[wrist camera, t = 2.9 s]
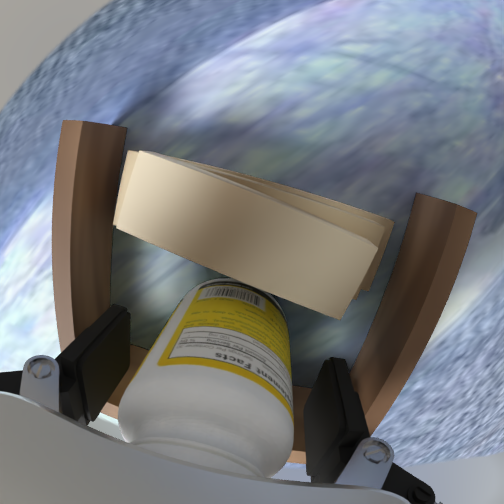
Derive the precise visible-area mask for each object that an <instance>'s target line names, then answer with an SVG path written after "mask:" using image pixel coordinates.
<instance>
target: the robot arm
mask: <svg viewBox="0 0 504 504" xmlns="http://www.w3.org/2000/svg"><path fill="white" fill-rule="evenodd" d="M129 366H130V313H129V312H127V309H126V308H125V307H122V306H119V305H116V304H113V305H112V306H111V307H109V308H108V309H107V310H106V311H105V312H104V313H103V314H102V315H101V316H100V317H99V318H98V319H97V320H96V321H95V322H94V323H93V324H92V325H91V326H90V327H87V328H86V329H85V330H84V331H83V332H82V333H81V334H80V335H79V336H78V337H77V338H76V339H75V340H74V341H73V342H71V343H70V344H69V345H68V346H67V347H66V348H65V349H64V350H63V351H62V352H61V353H60V354H59V355H58V357H57V358H56V359H55V360H54V359H53V358H51V357H49V356H45V355H37V356H34V357H31V358H30V359H28V360H27V361H26V362H25V364H24V367H23V370H22V371H12V372H1V373H0V504H437V503H436V502H435V494H434V491H433V490H432V488H431V487H430V486H428V485H427V484H426V483H424V482H423V481H421V480H419V479H418V478H416V477H414V476H413V475H412V474H410V473H408V472H407V471H405V470H404V469H402V468H401V467H399V466H398V465H396V464H395V463H393V460H394V450H393V449H392V447H391V446H390V445H389V444H388V443H387V442H386V441H384V440H382V439H379V438H375V437H370V434H369V430H368V426H367V422H366V419H365V415H364V411H363V408H362V404H361V401H360V397H359V394H358V393H357V392H356V391H354V389H353V386H352V382H351V378H350V375H349V371H348V368H347V365H346V361H345V359H341V358H335V357H331V358H330V359H329V360H325V361H324V363H323V366H322V368H321V370H320V372H319V375H318V377H317V379H316V381H315V384H314V386H313V388H312V390H311V392H310V395H309V397H308V399H307V401H306V403H305V405H304V409H303V417H304V433H305V452H306V472H307V475H308V476H311V482H300V481H289V480H280V479H272V478H265V477H258V476H251V475H245V474H240V473H234V472H229V471H224V470H220V469H215V468H210V467H206V466H202V465H198V464H194V463H190V462H186V461H183V460H179V459H176V458H172V457H169V456H165V455H162V454H159V453H156V452H153V451H150V450H147V449H144V448H141V447H138V446H135V445H133V444H130V443H127V442H124V441H122V440H119V439H117V438H114V437H112V436H109V435H107V434H104V433H102V432H100V431H98V430H95V429H93V428H91V427H89V426H87V425H88V424H89V422H90V421H95V419H96V418H97V416H98V415H99V413H100V412H101V410H102V409H103V407H104V406H105V404H106V403H107V401H108V399H109V398H110V396H111V395H112V393H113V392H114V390H115V389H116V387H117V386H118V384H119V383H120V381H121V380H122V378H123V377H124V375H125V374H126V372H127V371H128V369H129ZM438 504H443V503H441V502H439V503H438Z"/></svg>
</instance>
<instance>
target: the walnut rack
mask: <svg viewBox="0 0 504 504" xmlns="http://www.w3.org/2000/svg"><path fill="white" fill-rule="evenodd" d="M126 132H127V128H126V127H120V126H114V125H108V124H101V123H95V122H88V121H74V120H63V123H62V128H61V134H60V141H59V147H58V155H57V163H56V172H55V182H54V195H53V212H52V270H53V288H54V301H55V311H56V320H57V328H58V336H59V342H60V349H61V352H62V351H63V350H64V349H65V348H66V347H67V346H68V345H69V344H70V343H71V342H73V341H74V340H75V339H76V338H77V337H78V336H79V335H80V334H81V333H82V332H83V331H84V330H85V329H86V328H87V327H90V326H91V325H92V324H93V323H94V322H95V321H96V320H97V319H98V318H99V317H100V316H101V315H102V314H103V313H104V312H105V311H106V310H107V309H108V308H109V307H110V276H111V254H112V238H113V222H114V215H115V205H116V196H117V188H118V181H119V173H120V167H121V160H122V154H123V148H124V143H125V137H126ZM476 216H477V213H476V212H474V211H472V210H469V209H467V208H465V207H462V206H460V205H457V204H454V203H451V202H448V201H444V200H441V199H437V198H434V197H430V196H427V195H423V194H419V193H416V196H415V199H414V203H413V207H412V210H411V214H410V218H409V221H408V225H407V228H406V231H405V235H404V238H403V241H402V244H401V247H400V250H399V253H398V256H397V259H396V262H395V265H394V268H393V271H392V274H391V277H390V279H389V282H388V285H387V287H386V290H385V293H384V295H383V298H382V301H381V303H380V306H379V308H378V311H377V313H376V316H375V318H374V320H373V323H372V325H371V328H370V330H369V332H368V334H367V337H366V339H365V341H364V343H363V346H362V348H361V350H360V352H359V354H358V357H357V359H356V361H355V363H354V365H353V367H352V369H351V371H350V373H349V375H350V378H351V382H352V386H353V389H354V391H356V392H357V393H358V394H359V397H360V401H361V404H362V408H363V411H364V415H365V419H366V422H367V426H368V430H369V434H370V436H371V435H372V434H373V432H374V431H375V429H376V428H377V427H378V425H379V424H380V422H381V421H382V419H383V418H384V416H385V415H386V413H387V412H388V410H389V409H390V407H391V406H392V404H393V403H394V401H395V400H396V398H397V396H398V395H399V393H400V392H401V390H402V388H403V387H404V385H405V383H406V382H407V380H408V378H409V376H410V375H411V373H412V371H413V369H414V368H415V366H416V364H417V362H418V360H419V359H420V357H421V355H422V353H423V351H424V349H425V347H426V345H427V343H428V341H429V339H430V337H431V335H432V333H433V331H434V329H435V327H436V325H437V323H438V320H439V318H440V316H441V314H442V312H443V309H444V307H445V305H446V302H447V300H448V298H449V295H450V293H451V290H452V288H453V285H454V283H455V280H456V277H457V275H458V272H459V269H460V267H461V264H462V261H463V258H464V255H465V252H466V249H467V246H468V243H469V240H470V237H471V233H472V230H473V226H474V223H475V219H476ZM148 352H149V350H146V349H143V348H140V347H137V346H134V345H131V344H130V366H129V369H128V371H127V372H126V374H125V375H124V377H123V378H122V380H121V381H120V383H119V384H118V386H117V387H116V389H115V390H114V392H113V393H112V395H111V396H110V398H109V399H108V401H107V403H106V404H105V406H104V407H103V409H102V410H101V413H103V414H106V415H108V416H110V417H113V418H115V419H118V409H119V404H120V401H121V398H122V396H123V394H124V392H125V390H126V388H127V386H128V385H129V383H130V381H131V380H132V378H133V376H134V375H135V373H136V371H137V370H138V368H139V366H140V365H141V363H142V362H143V360H144V358H145V357H146V355H147V354H148ZM311 390H312V388H306V387H300V386H294V385H292V395H293V415H294V440H293V448H292V451H291V454H290V457H289V459H288V460H287V462H291V463H300V464H306V452H305V433H304V417H303V409H304V405H305V403H306V401H307V399H308V397H309V395H310V392H311Z"/></svg>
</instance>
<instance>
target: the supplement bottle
mask: <svg viewBox="0 0 504 504" xmlns="http://www.w3.org/2000/svg"><path fill="white" fill-rule="evenodd" d="M118 422H119V428H120V431H121V433H122V436H123V438H124V440H125V441H126V442H127V443H130V444H133V445H135V446H138V447H141V448H144V449H147V450H150V451H153V452H156V453H159V454H162V455H165V456H169V457H172V458H176V459H179V460H183V461H186V462H190V463H194V464H198V465H202V466H206V467H210V468H215V469H220V470H224V471H229V472H234V473H240V474H245V475H251V476H258V477H265V478H271V477H272V476H274V475H275V474H276V473H277V472H278V471H279V470H281V468H282V467H283V466H284V465H285V464H286V462H287V460H288V459H289V457H290V454H291V451H292V448H293V440H294V415H293V395H292V376H291V359H290V342H289V331H288V324H287V321H286V317H285V314H284V312H283V310H282V308H281V307H280V305H279V304H278V302H277V301H276V300H275V299H274V298H273V297H272V296H271V294H269V293H268V292H266V291H263V290H261V289H258V288H256V287H253V286H251V285H248V284H246V283H244V282H241V281H239V280H236V279H234V278H219V279H213V280H209V281H206V282H204V283H201V284H199V285H198V286H196V287H194V288H193V289H192V290H190V291H189V292H188V293H187V294H186V295H185V297H184V298H183V299H182V300H181V301H180V303H179V304H178V306H177V307H176V309H175V310H174V312H173V313H172V315H171V317H170V318H169V320H168V321H167V323H166V325H165V326H164V328H163V329H162V331H161V333H160V334H159V336H158V337H157V339H156V341H155V342H154V344H153V345H152V347H151V349H150V350H149V352H148V354H147V355H146V357H145V358H144V360H143V362H142V363H141V365H140V366H139V368H138V370H137V371H136V373H135V375H134V376H133V378H132V380H131V381H130V383H129V385H128V386H127V388H126V390H125V392H124V394H123V396H122V398H121V401H120V404H119V409H118Z"/></svg>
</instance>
